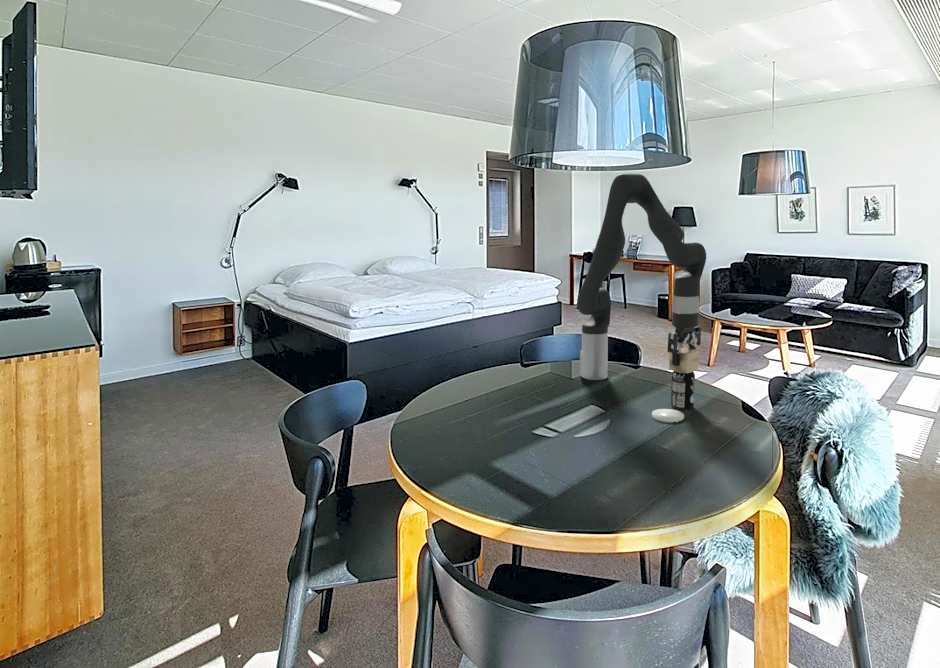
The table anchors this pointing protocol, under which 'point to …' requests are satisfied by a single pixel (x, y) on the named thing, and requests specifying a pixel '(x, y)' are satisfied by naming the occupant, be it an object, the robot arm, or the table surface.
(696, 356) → the oak cube
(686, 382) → the beverage can
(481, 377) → the table surface
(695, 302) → the robot arm
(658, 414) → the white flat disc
